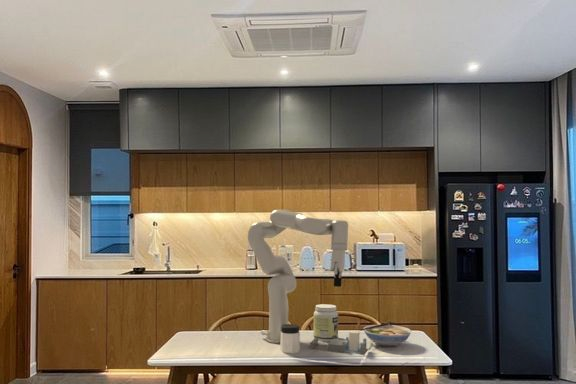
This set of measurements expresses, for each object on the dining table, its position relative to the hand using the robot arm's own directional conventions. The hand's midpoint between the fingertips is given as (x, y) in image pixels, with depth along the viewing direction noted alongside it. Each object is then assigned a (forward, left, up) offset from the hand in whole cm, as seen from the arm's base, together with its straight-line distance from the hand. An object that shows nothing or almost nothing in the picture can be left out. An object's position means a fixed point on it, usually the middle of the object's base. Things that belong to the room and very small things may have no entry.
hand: (337, 286), depth 233 cm
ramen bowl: (+21, +15, -29) cm, 39 cm away
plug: (+9, -3, -28) cm, 29 cm away
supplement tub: (-9, +14, -29) cm, 34 cm away
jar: (-19, -14, -29) cm, 37 cm away
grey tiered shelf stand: (+1, -3, -29) cm, 29 cm away
